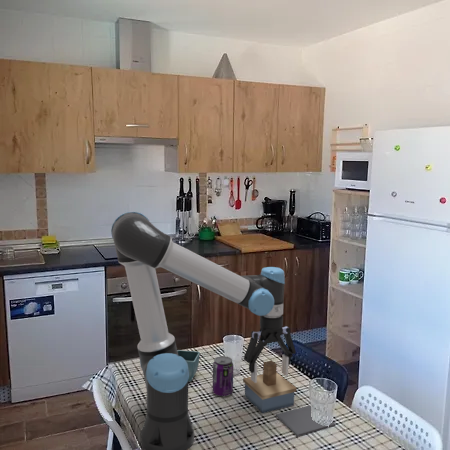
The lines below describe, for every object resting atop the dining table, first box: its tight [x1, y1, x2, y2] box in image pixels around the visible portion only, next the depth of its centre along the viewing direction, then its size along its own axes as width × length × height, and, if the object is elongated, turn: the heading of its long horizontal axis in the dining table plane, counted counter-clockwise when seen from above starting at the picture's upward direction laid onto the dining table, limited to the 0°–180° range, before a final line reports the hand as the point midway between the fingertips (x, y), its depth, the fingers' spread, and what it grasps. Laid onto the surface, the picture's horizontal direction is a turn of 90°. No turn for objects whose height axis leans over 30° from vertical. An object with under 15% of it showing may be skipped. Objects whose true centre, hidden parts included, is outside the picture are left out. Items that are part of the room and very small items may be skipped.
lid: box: [242, 360, 297, 400], centre depth 150 cm, size 13×13×8 cm
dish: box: [244, 383, 295, 414], centre depth 151 cm, size 12×12×5 cm
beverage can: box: [211, 355, 234, 397], centre depth 155 cm, size 7×7×12 cm
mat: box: [275, 404, 336, 437], centre depth 140 cm, size 14×12×1 cm
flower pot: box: [177, 349, 201, 383], centre depth 165 cm, size 9×9×9 cm
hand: (269, 377), depth 150 cm, fingers open, 11 cm apart
